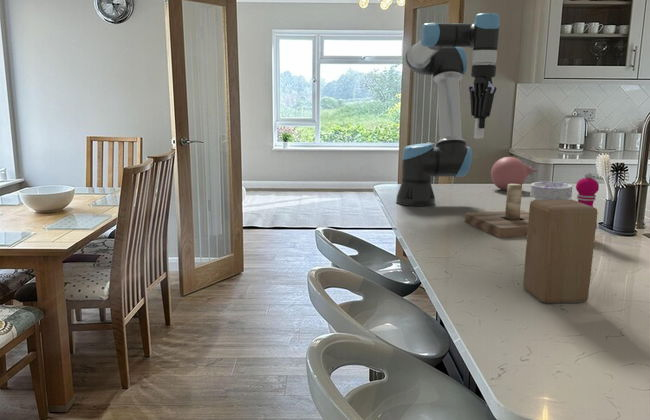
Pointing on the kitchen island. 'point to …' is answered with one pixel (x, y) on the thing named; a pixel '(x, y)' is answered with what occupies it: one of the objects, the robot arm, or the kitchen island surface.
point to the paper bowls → (551, 190)
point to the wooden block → (559, 250)
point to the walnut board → (499, 223)
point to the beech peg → (513, 202)
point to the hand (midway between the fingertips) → (478, 138)
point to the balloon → (510, 172)
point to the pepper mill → (587, 190)
